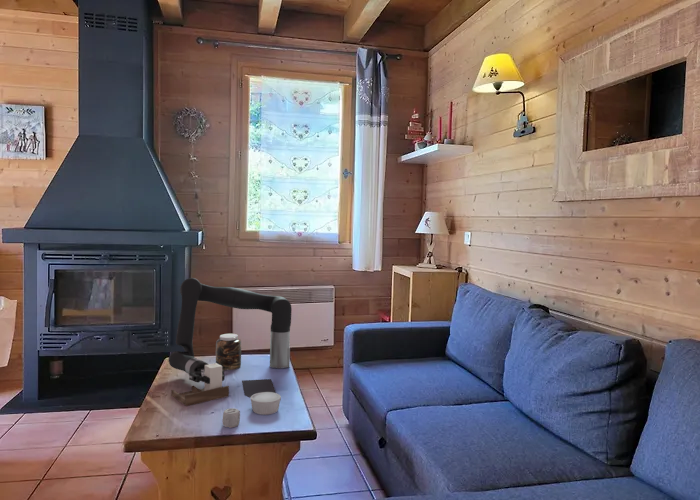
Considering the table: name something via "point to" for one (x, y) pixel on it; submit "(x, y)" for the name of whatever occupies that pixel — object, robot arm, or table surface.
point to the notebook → (257, 386)
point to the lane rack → (200, 395)
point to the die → (231, 417)
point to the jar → (228, 351)
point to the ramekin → (265, 403)
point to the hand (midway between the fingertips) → (216, 379)
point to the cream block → (213, 376)
